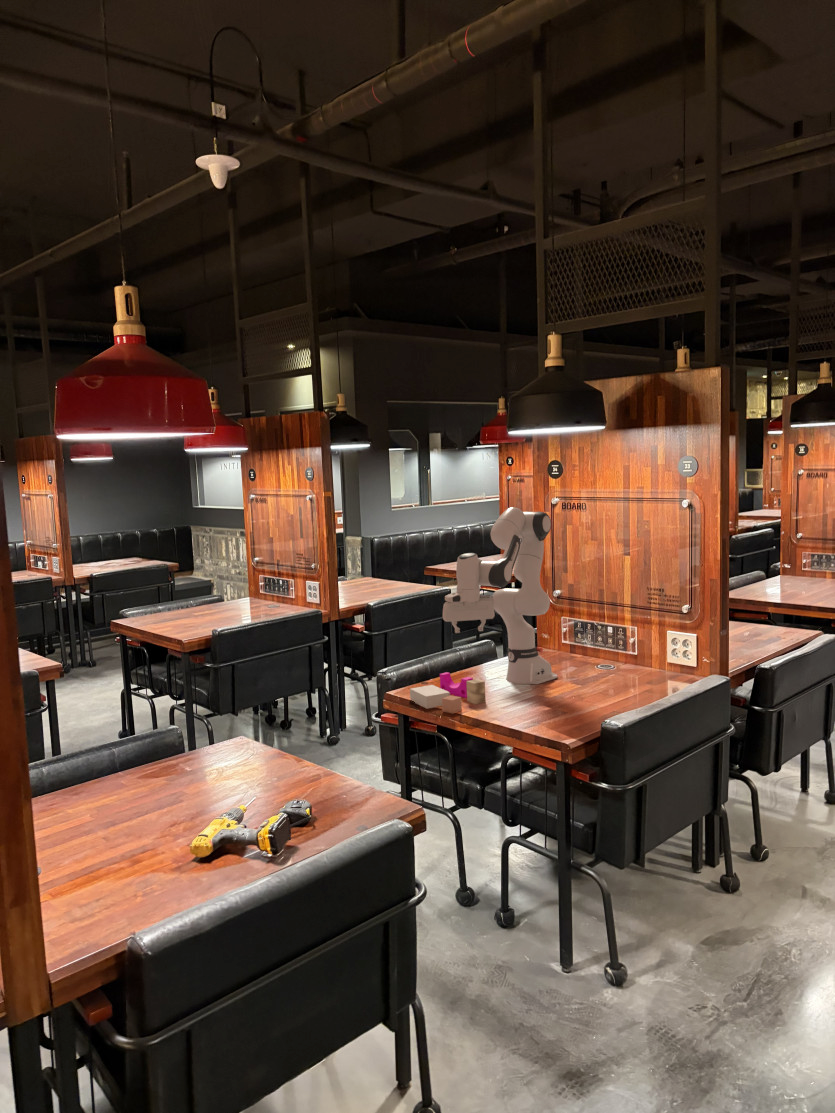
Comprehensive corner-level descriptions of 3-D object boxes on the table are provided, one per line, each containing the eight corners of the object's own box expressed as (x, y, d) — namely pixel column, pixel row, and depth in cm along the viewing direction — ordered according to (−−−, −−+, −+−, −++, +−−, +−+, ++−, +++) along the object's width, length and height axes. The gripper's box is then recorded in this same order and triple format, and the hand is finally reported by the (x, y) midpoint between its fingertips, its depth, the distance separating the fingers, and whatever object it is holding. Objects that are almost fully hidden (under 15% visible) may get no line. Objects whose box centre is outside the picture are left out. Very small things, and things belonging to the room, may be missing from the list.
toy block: (478, 695, 315) (477, 676, 314) (466, 698, 311) (466, 679, 310) (451, 689, 326) (450, 671, 325) (440, 692, 322) (439, 674, 321)
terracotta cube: (451, 708, 298) (450, 695, 297) (461, 710, 294) (461, 697, 294) (442, 711, 294) (442, 698, 294) (452, 713, 291) (452, 700, 290)
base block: (432, 697, 315) (432, 684, 315) (450, 705, 303) (449, 692, 302) (410, 701, 311) (409, 688, 310) (426, 709, 298) (426, 696, 298)
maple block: (477, 699, 308) (477, 678, 308) (485, 701, 304) (484, 681, 303) (467, 701, 306) (466, 681, 305) (475, 704, 301) (474, 683, 301)
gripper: (490, 593, 311) (491, 628, 312) (440, 596, 306) (441, 632, 307) (496, 595, 305) (497, 631, 306) (445, 598, 300) (446, 634, 301)
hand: (469, 631), depth 306 cm, fingers open, 8 cm apart
